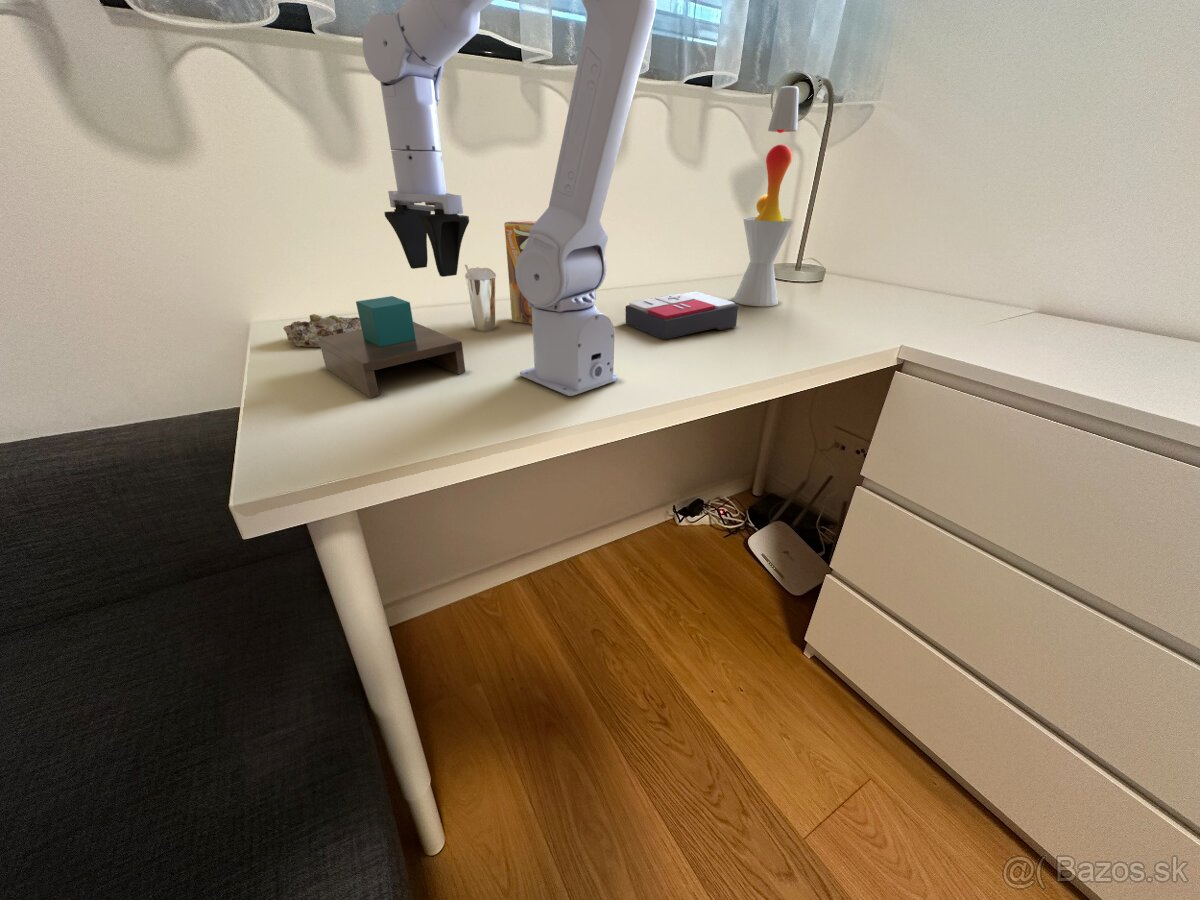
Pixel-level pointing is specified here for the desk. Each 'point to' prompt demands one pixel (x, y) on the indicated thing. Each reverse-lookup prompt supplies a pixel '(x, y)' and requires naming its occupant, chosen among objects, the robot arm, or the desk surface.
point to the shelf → (386, 355)
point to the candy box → (515, 244)
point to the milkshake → (482, 296)
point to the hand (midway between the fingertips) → (433, 271)
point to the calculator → (681, 314)
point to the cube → (386, 320)
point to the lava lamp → (769, 211)
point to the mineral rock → (319, 329)
